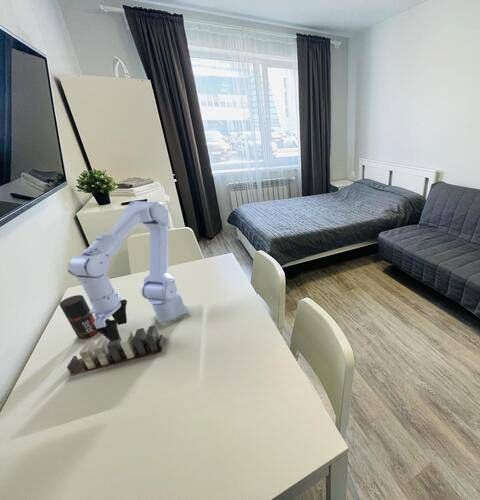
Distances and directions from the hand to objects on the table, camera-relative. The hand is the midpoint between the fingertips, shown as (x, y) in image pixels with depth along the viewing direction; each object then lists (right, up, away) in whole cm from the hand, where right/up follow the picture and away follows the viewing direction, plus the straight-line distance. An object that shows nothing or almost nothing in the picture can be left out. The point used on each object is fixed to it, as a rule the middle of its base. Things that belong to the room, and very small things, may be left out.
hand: (119, 331), depth 82 cm
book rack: (-2, -9, +3) cm, 10 cm away
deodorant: (-20, -5, +13) cm, 24 cm away
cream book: (+1, -8, +4) cm, 9 cm away
